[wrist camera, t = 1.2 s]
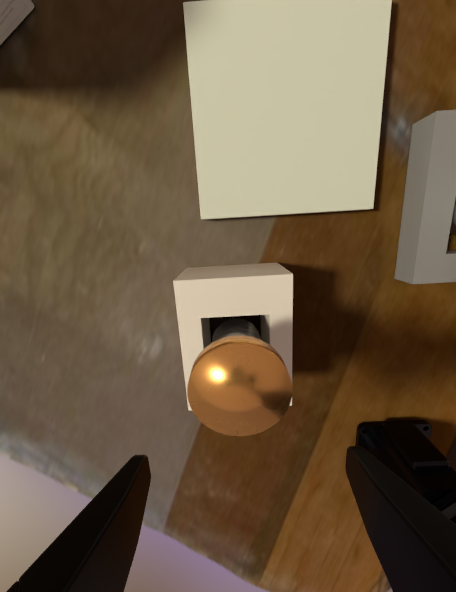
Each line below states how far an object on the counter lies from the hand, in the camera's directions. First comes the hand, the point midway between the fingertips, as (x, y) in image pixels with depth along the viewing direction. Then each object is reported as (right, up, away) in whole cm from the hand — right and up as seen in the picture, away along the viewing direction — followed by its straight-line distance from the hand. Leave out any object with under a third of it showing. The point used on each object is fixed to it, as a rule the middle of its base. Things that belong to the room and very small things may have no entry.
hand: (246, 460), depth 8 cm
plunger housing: (0, +3, +13) cm, 13 cm away
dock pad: (+3, +17, +9) cm, 19 cm away
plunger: (0, +2, +9) cm, 9 cm away
